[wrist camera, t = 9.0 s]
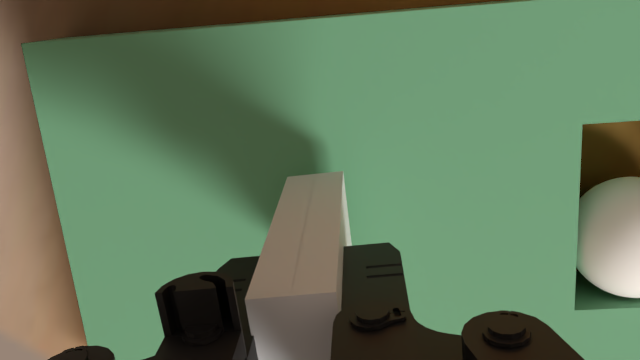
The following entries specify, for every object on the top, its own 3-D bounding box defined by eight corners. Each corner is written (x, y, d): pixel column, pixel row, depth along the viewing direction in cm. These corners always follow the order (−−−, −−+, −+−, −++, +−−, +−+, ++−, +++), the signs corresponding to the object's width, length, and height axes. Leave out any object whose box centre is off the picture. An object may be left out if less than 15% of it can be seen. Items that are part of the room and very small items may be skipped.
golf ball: (538, 181, 18) (643, 215, 15) (623, 153, 19) (736, 179, 16) (541, 284, 19) (639, 337, 16) (621, 251, 20) (726, 294, 17)
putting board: (64, 37, 18) (-52, 53, 13) (823, -27, 17) (1039, -38, 11) (131, 373, 22) (60, 492, 17) (767, 350, 20) (912, 474, 15)
